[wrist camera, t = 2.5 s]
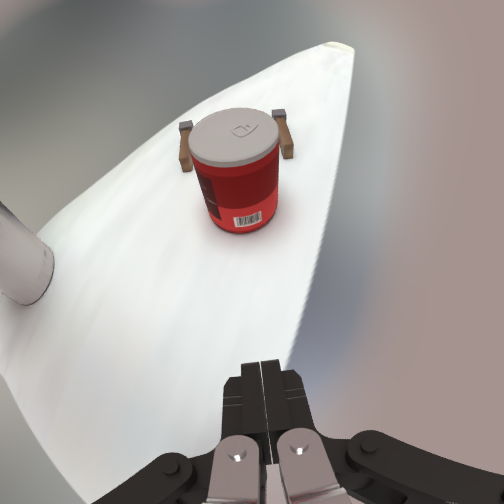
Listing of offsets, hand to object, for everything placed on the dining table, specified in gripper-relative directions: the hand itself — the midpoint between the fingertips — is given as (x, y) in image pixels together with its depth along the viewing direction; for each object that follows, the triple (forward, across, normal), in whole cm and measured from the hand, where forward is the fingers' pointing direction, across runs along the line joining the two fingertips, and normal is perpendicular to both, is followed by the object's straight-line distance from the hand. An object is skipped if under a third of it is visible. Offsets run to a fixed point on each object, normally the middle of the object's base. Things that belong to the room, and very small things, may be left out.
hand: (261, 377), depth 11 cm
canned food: (+24, 0, -3) cm, 24 cm away
